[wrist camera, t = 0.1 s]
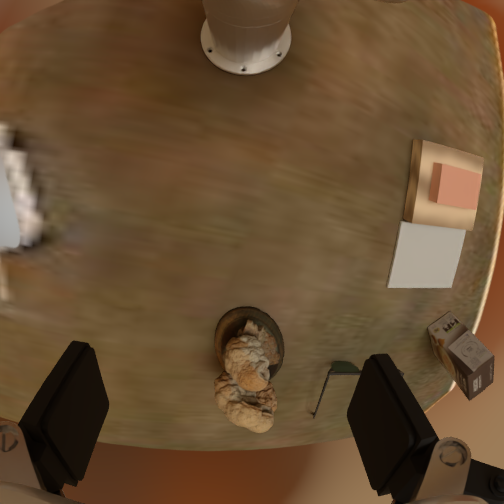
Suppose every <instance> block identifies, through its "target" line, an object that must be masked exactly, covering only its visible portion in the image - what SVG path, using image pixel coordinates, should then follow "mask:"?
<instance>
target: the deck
mask: <svg viewBox="0 0 504 504" xmlns="http://www.w3.org/2000/svg"><path fill="white" fill-rule="evenodd" d="M434 162H435V163H441V164H445V165H449V166H453V167H457V168H461V169H464V170H468V171H472V172H475V173H479V174H482V171H483V162H484V158H482V157H479V156H476V155H473V154H470V153H467V152H464V151H460V150H457V149H454V148H450V147H447V146H443V145H440V144H436V143H433V142H429V141H425V140H413V147H412V157H411V166H410V175H409V182H408V190H407V197H406V203H405V209H404V215H403V219H405V220H407V221H408V222H410V223H413V224H422V225H430V226H439V227H447V228H455V229H463V230H470V231H473V226H474V221H475V216H476V211H477V208H476V210H473V209H467V208H462V207H456V206H451V205H445V204H439V203H435V202H433V201H430V200H429V195H430V188H431V181H432V173H433V165H434ZM481 179H482V175H481ZM480 186H481V183H480ZM479 193H480V190H479ZM478 199H479V196H478ZM477 205H478V202H477Z"/></svg>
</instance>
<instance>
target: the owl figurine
mask: <svg viewBox="0 0 504 504" xmlns="http://www.w3.org/2000/svg"><path fill="white" fill-rule="evenodd" d="M215 350H216V354H217V357H218V359H219V362H220V364H221V366H222V367H223V369H224V370H225V371H224V372H223V373H222V374H221V375H220V376H219V377H218V378H217V379H215V382H214V385H215V391H216V393H215V399H216V402H217V405H218V407H219V408H220V409H221V410H223V411H224V414H225V416H226V417H227V418H228V420H229V421H231V422H232V423H234V424H236V425H238V426H243V427H246V428H248V429H249V430H252V431H254V432H256V433H262V432H265V431H267V430H269V429H270V428H271V426H272V425H273V419H274V416H273V413H274V411H275V410H276V408H277V405H276V404H277V397H276V396H275V394H276V393H275V390H274V389H273V387H272V385H273V384H272V383H271V382H269V380H270V379H271V378H273V377H274V376H275V375H276V373H277V372H278V371H279V369H280V367H281V365H282V363H283V357H284V342H283V338H282V334H281V332H280V330H279V327H278V326H277V324H276V323H275V322H274V320H273V319H272V318H271V317H270V316H269V315H268V314H267V313H264V312H261V311H260V310H259V309H257V308H254V307H240V308H235V309H232V310H231V311H229V312H227V313H226V314H225V315H224V316H223V317H222V318H221V320H220V321H219V323H218V326H217V328H216V333H215ZM280 360H281V362H280Z"/></svg>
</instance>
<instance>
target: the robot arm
mask: <svg viewBox="0 0 504 504" xmlns="http://www.w3.org/2000/svg"><path fill="white" fill-rule="evenodd" d="M298 1H299V0H202V3H203V7H204V11H205V15H206V20H205V22H204V24H203V26H202V30H201V44H202V48H203V50H204V53H205V54H206V56H207V57H208V59H209V60H210V61H211V62H212V63H213V64H214V65H215V66H217V67H218V68H220V69H221V70H223V71H226V72H228V73H231V74H235V75H243V76H248V75H256V74H261V73H264V72H266V71H269V70H271V69H272V68H274V67H275V66H277V65H278V64H279V63H280V62H281V61H282V60H283V59H284V57H285V56H286V54H287V52H288V50H289V48H290V44H291V29H290V26H289V24H288V23H289V21H290V18H291V16H292V14H293V12H294V10H295V8H296V5H297V3H298ZM376 1H380V2H386V3H402V2H406V1H409V0H376ZM210 50H212V52H211V53H209V51H210ZM278 54H279V55H280V57H278V56H277V55H278ZM242 69H245V71H244V72H243V71H241V70H242ZM108 409H109V400H108V397H107V394H106V390H105V387H104V384H103V380H102V377H101V373H100V370H99V366H98V362H97V358H96V355H95V351H94V349H93V348H91V347H90V345H89V343H85V342H79V341H72V342H71V343H70V345H69V346H68V348H67V349H66V350H65V352H64V353H63V355H62V356H61V358H60V359H59V361H58V362H57V364H56V365H55V367H54V368H53V370H52V371H51V373H50V374H49V376H48V377H47V378H46V380H45V381H44V383H43V384H42V386H41V388H40V389H39V391H38V392H37V394H36V396H35V397H34V399H33V400H32V402H31V404H30V405H29V407H28V409H27V410H26V412H25V413H24V415H23V417H22V419H21V420H20V422H19V424H18V425H16V424H15V423H13V422H7V421H5V422H0V504H84V503H80V502H77V501H74V500H71V499H68V498H66V497H65V495H64V493H63V491H62V488H63V485H64V483H66V484H69V485H72V486H75V487H76V486H77V483H78V480H79V481H81V480H82V479H83V478H84V475H85V472H86V469H87V466H88V463H89V460H90V458H91V455H92V452H93V449H94V446H95V444H96V441H97V438H98V436H99V433H100V430H101V428H102V425H103V422H104V420H105V417H106V415H107V412H108ZM347 418H348V422H349V424H350V427H351V430H352V433H353V436H354V438H355V441H356V444H357V447H358V450H359V453H360V456H361V458H362V461H363V464H364V467H365V470H366V473H367V476H368V479H369V482H370V485H371V487H372V489H373V490H377V493H378V496H382V495H386V494H390V493H391V495H392V498H393V501H392V503H391V504H504V470H503V469H500V468H497V467H494V466H491V465H488V464H485V463H482V462H479V461H476V460H474V459H471V452H470V449H469V447H468V446H467V444H466V443H465V442H463V441H462V440H460V439H458V438H454V437H446V438H443V439H441V440H439V438H438V436H437V435H436V433H435V431H434V429H433V428H432V426H431V424H430V422H429V421H428V419H427V417H426V415H425V414H424V412H423V410H422V409H421V407H420V405H419V404H418V402H417V400H416V399H415V397H414V395H413V394H412V392H411V390H410V389H409V387H408V385H407V384H406V382H405V380H404V379H403V377H402V375H401V374H400V372H399V371H398V369H397V367H396V366H395V364H394V363H393V361H392V359H391V358H390V356H389V355H388V354H374V355H371V356H370V358H369V359H366V361H365V363H364V366H363V369H362V372H361V375H360V378H359V380H358V383H357V386H356V389H355V391H354V394H353V397H352V400H351V402H350V405H349V407H348V410H347Z"/></svg>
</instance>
